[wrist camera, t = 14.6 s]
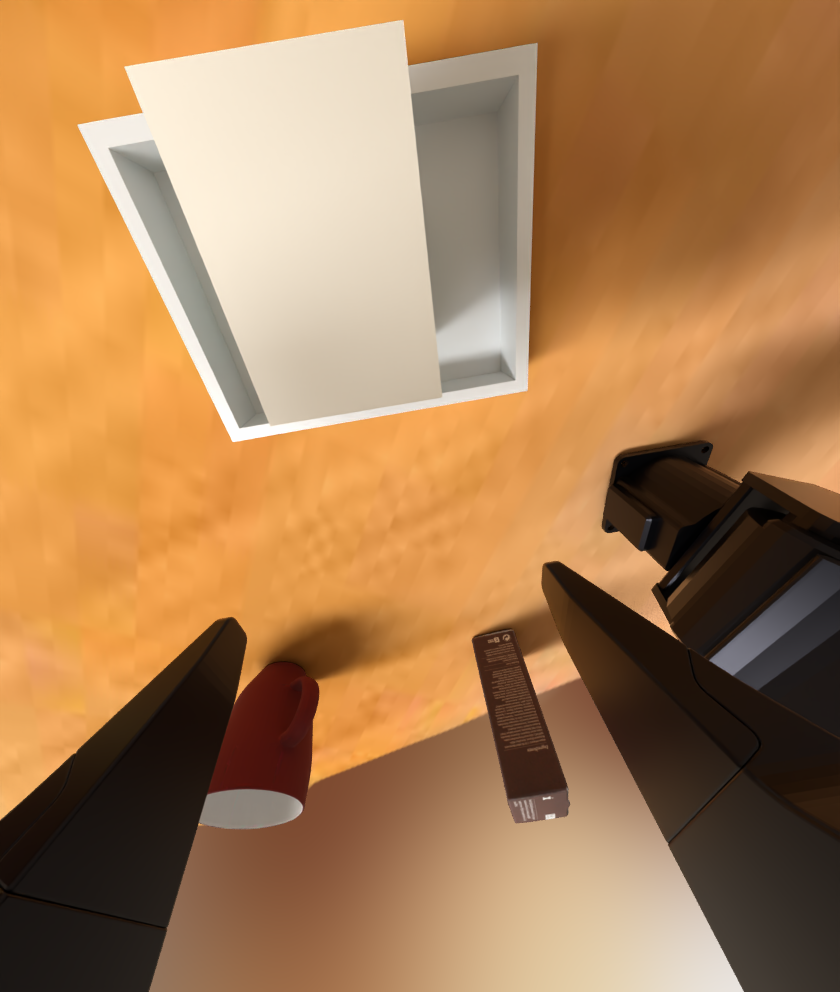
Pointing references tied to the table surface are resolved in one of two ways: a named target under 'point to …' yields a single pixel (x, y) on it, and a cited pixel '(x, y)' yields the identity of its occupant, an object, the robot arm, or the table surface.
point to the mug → (265, 752)
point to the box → (520, 731)
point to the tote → (448, 227)
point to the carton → (306, 213)
